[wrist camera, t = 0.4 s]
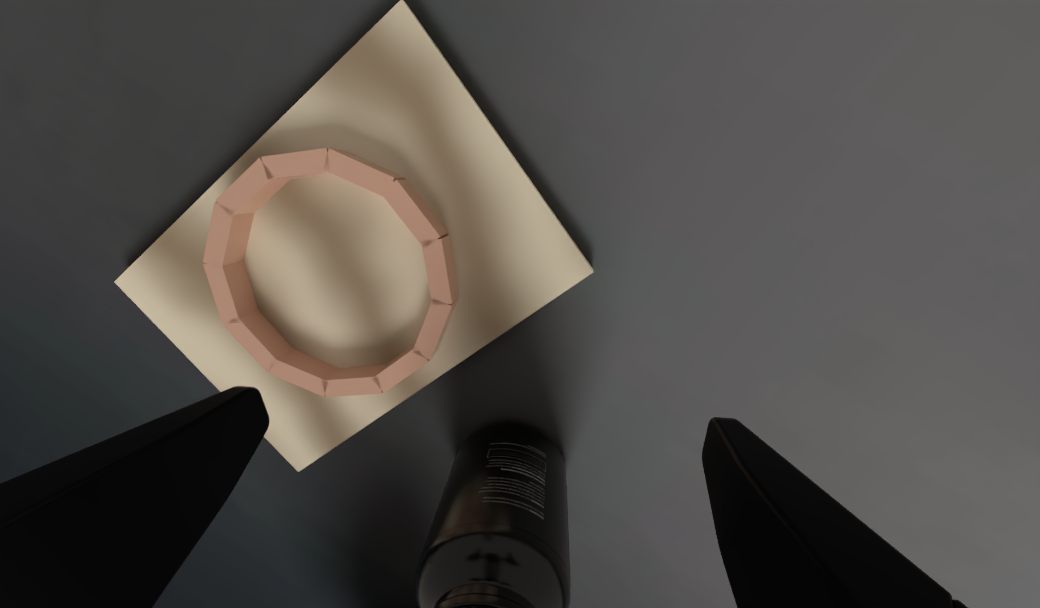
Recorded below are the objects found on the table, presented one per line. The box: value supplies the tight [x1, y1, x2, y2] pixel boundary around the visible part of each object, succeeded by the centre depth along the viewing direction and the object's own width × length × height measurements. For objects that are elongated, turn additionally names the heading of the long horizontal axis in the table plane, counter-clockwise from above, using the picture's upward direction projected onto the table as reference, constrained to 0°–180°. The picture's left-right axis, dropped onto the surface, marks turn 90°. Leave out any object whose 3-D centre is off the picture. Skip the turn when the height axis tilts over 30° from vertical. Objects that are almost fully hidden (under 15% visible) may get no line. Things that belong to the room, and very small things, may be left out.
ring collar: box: [203, 148, 459, 397], centre depth 21 cm, size 12×12×2 cm
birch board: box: [115, 0, 594, 472], centre depth 23 cm, size 22×15×1 cm
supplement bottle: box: [415, 422, 570, 608], centre depth 20 cm, size 7×7×12 cm
